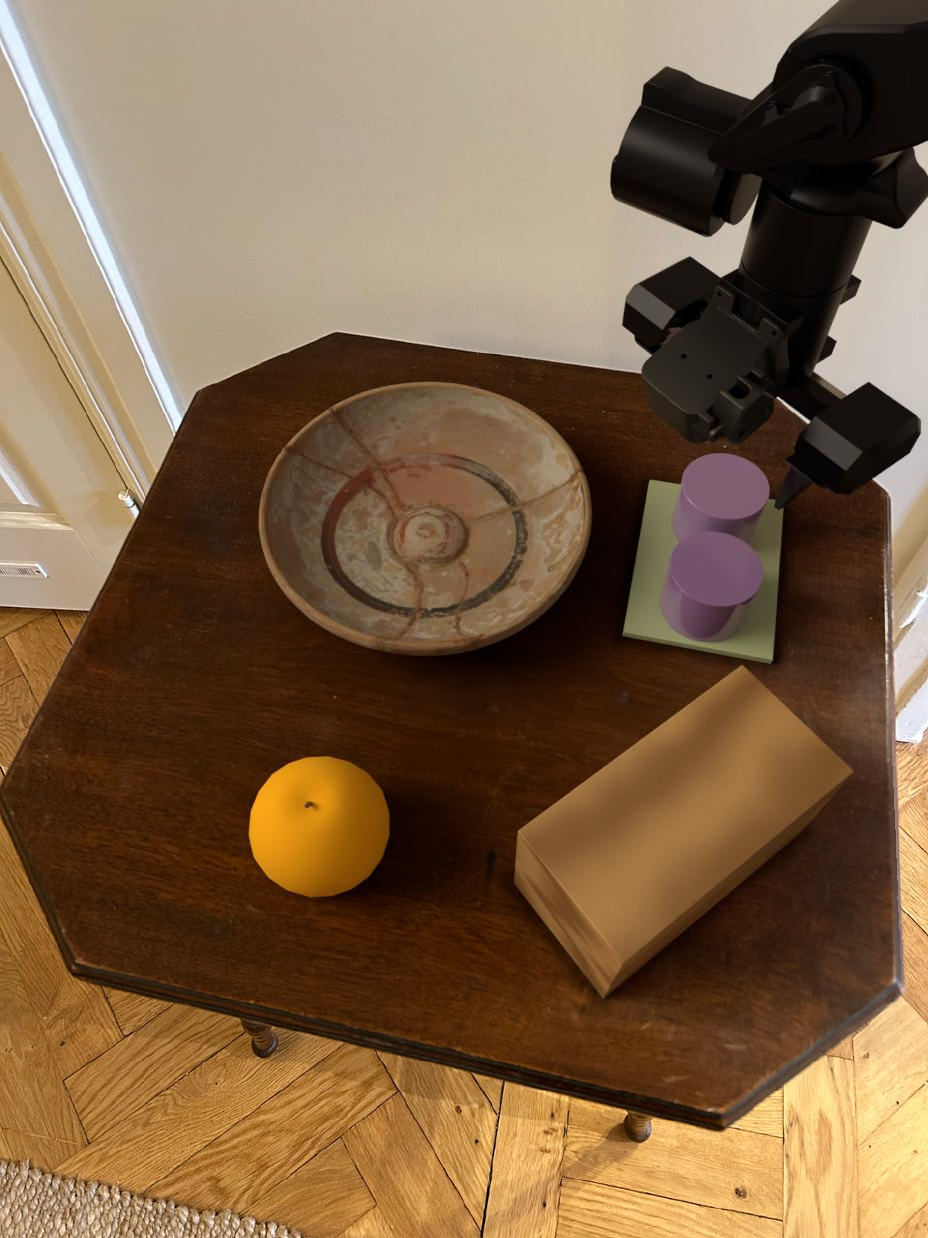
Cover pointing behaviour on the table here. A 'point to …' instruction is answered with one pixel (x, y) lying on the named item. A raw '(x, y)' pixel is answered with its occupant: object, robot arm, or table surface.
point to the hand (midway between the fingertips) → (730, 463)
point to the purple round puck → (710, 586)
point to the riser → (673, 826)
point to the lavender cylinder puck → (720, 497)
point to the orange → (319, 826)
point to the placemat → (652, 568)
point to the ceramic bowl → (425, 518)
